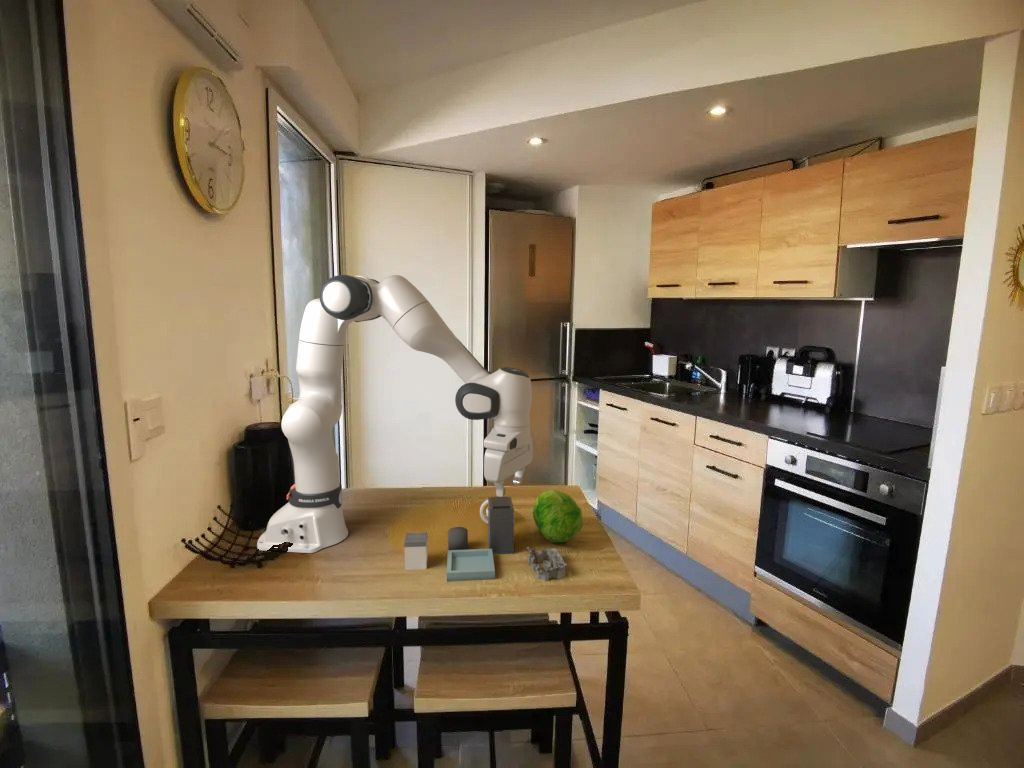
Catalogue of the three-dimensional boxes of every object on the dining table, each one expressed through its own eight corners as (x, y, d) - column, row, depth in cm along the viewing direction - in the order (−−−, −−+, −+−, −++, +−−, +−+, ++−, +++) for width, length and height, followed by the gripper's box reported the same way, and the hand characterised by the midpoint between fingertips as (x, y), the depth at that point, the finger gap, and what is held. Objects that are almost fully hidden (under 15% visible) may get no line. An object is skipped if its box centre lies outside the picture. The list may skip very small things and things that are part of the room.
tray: (446, 581, 119) (446, 573, 118) (447, 557, 129) (447, 550, 129) (494, 579, 120) (494, 570, 119) (492, 556, 131) (492, 548, 130)
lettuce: (570, 517, 155) (571, 479, 153) (588, 553, 132) (589, 510, 130) (527, 518, 154) (527, 480, 152) (537, 555, 131) (538, 511, 129)
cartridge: (404, 570, 124) (404, 542, 122) (407, 559, 129) (406, 532, 127) (426, 569, 124) (426, 541, 123) (428, 558, 129) (427, 532, 128)
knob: (448, 554, 131) (447, 535, 131) (448, 545, 136) (448, 527, 136) (467, 553, 132) (467, 534, 131) (467, 544, 137) (467, 526, 136)
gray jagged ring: (525, 561, 129) (525, 545, 128) (554, 558, 130) (554, 542, 130) (537, 583, 118) (537, 566, 118) (568, 579, 120) (568, 563, 120)
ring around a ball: (507, 522, 151) (507, 495, 150) (507, 530, 145) (508, 503, 144) (479, 522, 151) (479, 496, 149) (479, 530, 145) (479, 503, 144)
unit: (488, 554, 131) (488, 507, 130) (487, 540, 139) (487, 495, 137) (514, 553, 132) (515, 506, 130) (511, 539, 140) (511, 495, 138)
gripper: (518, 425, 136) (515, 475, 138) (479, 442, 118) (477, 500, 120) (540, 428, 134) (537, 480, 136) (504, 446, 115) (502, 505, 117)
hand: (509, 489), depth 128 cm, fingers open, 8 cm apart
